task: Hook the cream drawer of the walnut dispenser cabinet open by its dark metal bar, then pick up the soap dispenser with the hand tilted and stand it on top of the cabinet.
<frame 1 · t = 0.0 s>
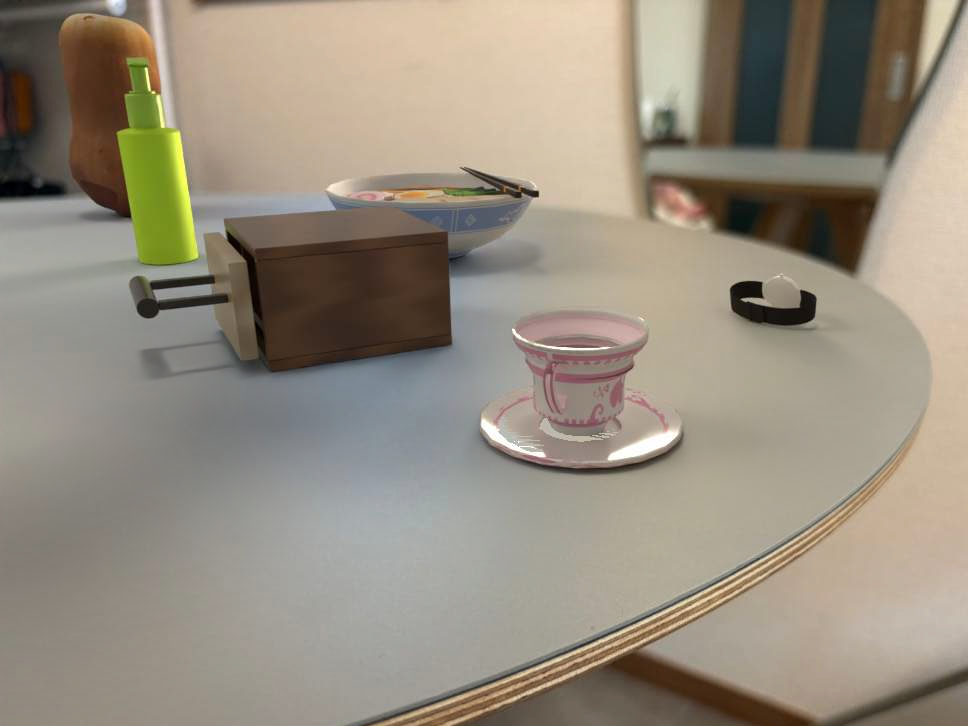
butternut squash: (135, 215, 117), on the table
ramen bowl: (435, 254, 95), on the table
teacup: (580, 430, 50), on the table
cabinet: (341, 334, 67), on the table
watch: (769, 320, 72), on the table
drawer: (268, 288, 63), point 4 cm above the table, slide at 0.5 cm
soap dispenser: (169, 261, 91), on the table
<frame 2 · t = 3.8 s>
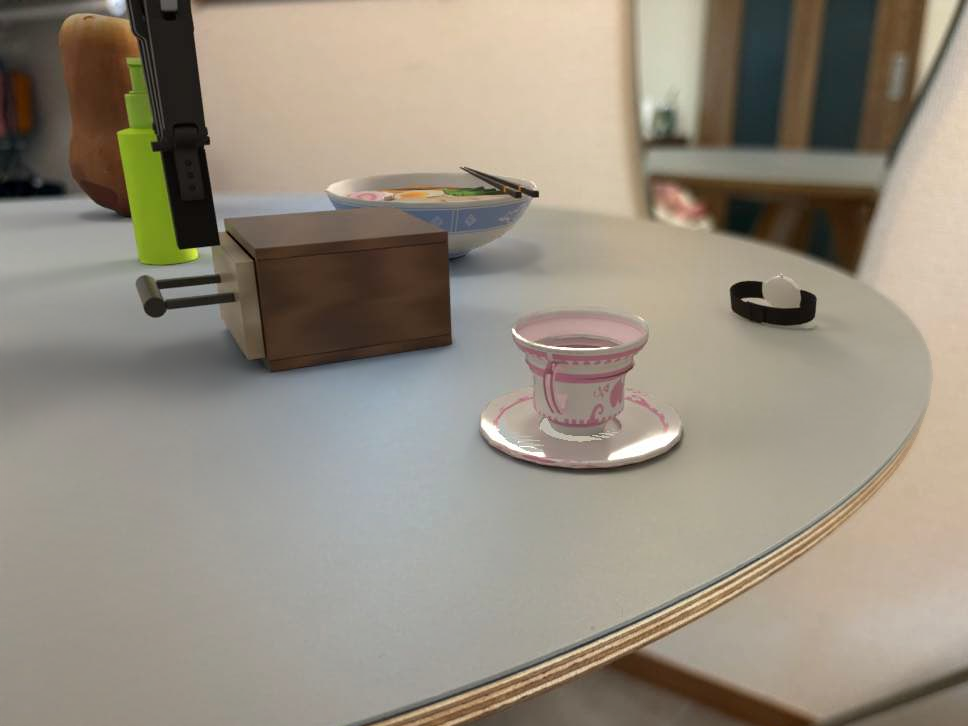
hand: (198, 245, 60), 8 cm above the table, tool pointing down, fingers closed
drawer: (274, 287, 63), point 4 cm above the table, slide at 0.1 cm, touching gripper
everything else where it was.
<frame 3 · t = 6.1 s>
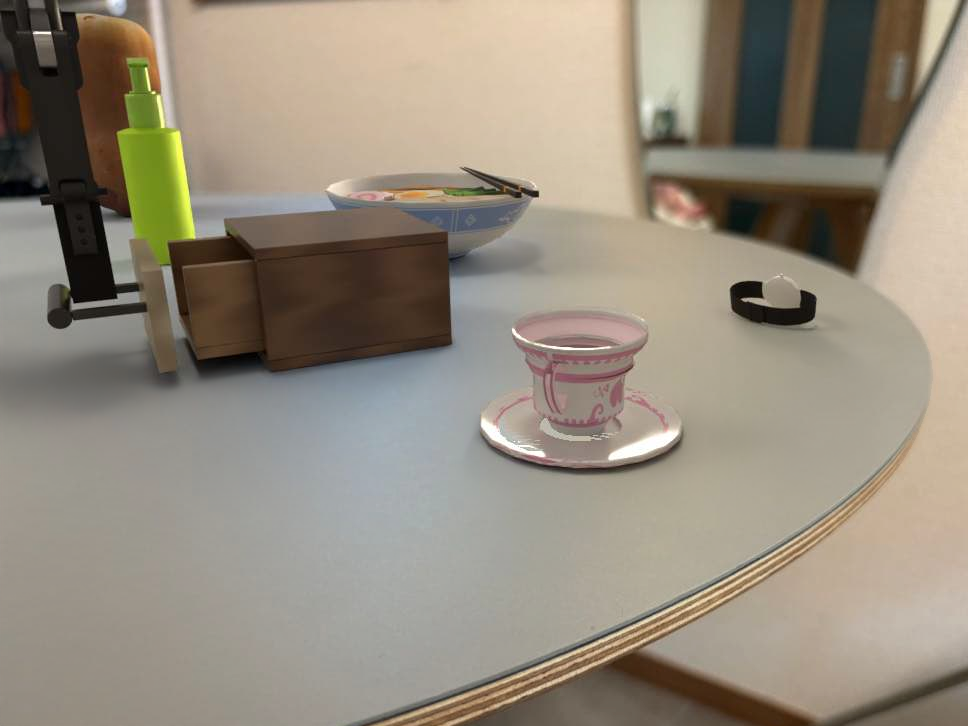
hand: (95, 298, 58), 5 cm above the table, tool pointing down, fingers closed
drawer: (194, 296, 61), point 4 cm above the table, slide at 5.7 cm
everything else where it was.
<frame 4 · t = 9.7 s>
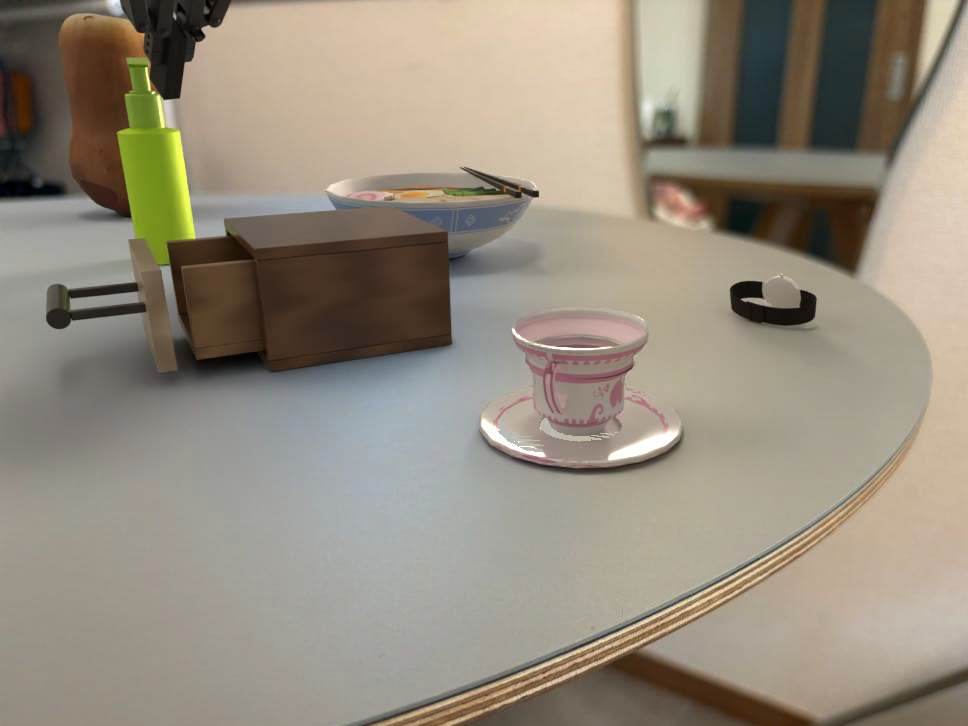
hand: (164, 88, 76), 18 cm above the table, tool tilted 40°, fingers closed
nothing on the table moved.
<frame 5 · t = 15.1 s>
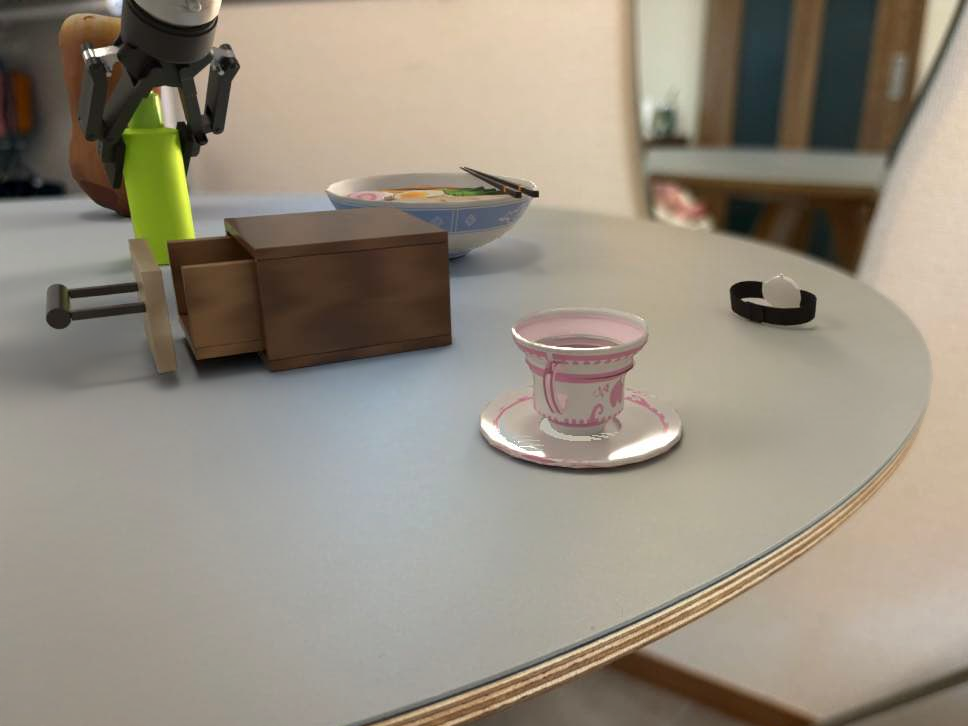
hand: (145, 175, 90), 8 cm above the table, tool tilted 45°, fingers closed on soap dispenser, 6 cm apart
soap dispenser: (169, 261, 91), on the table, touching gripper
everything else where it was.
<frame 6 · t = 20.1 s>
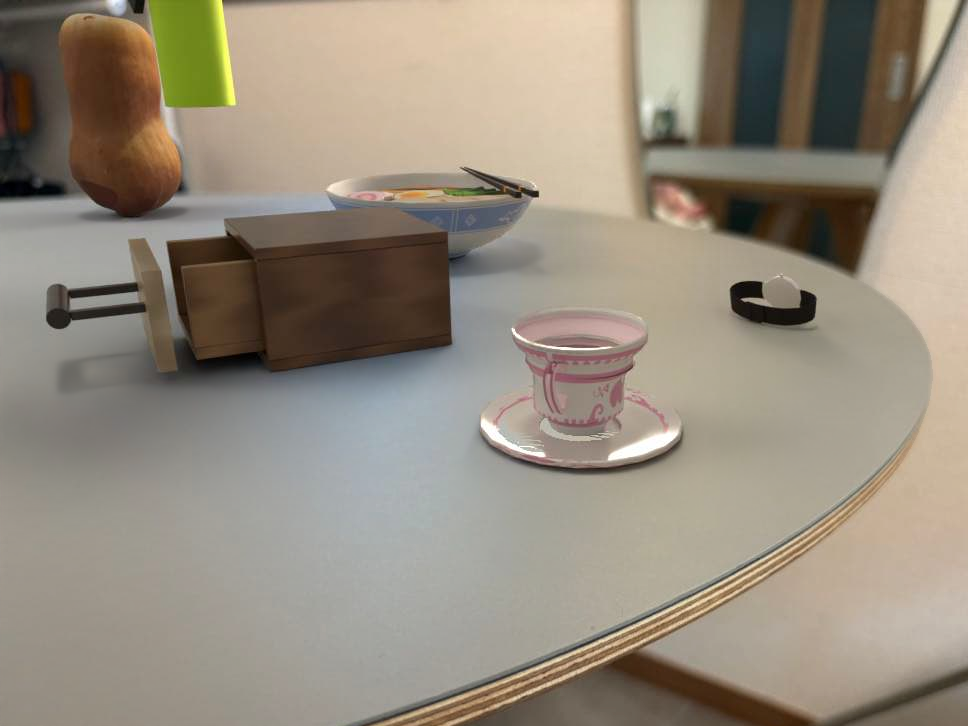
hand: (172, 2, 74), 24 cm above the table, tool tilted 45°, fingers closed on soap dispenser, 6 cm apart
soap dispenser: (201, 108, 75), point 16 cm above the table, touching gripper
everything else where it was.
when the fingers open (17 cm above the table, at t = 25.4 s): soap dispenser stays where it is, resting on cabinet.
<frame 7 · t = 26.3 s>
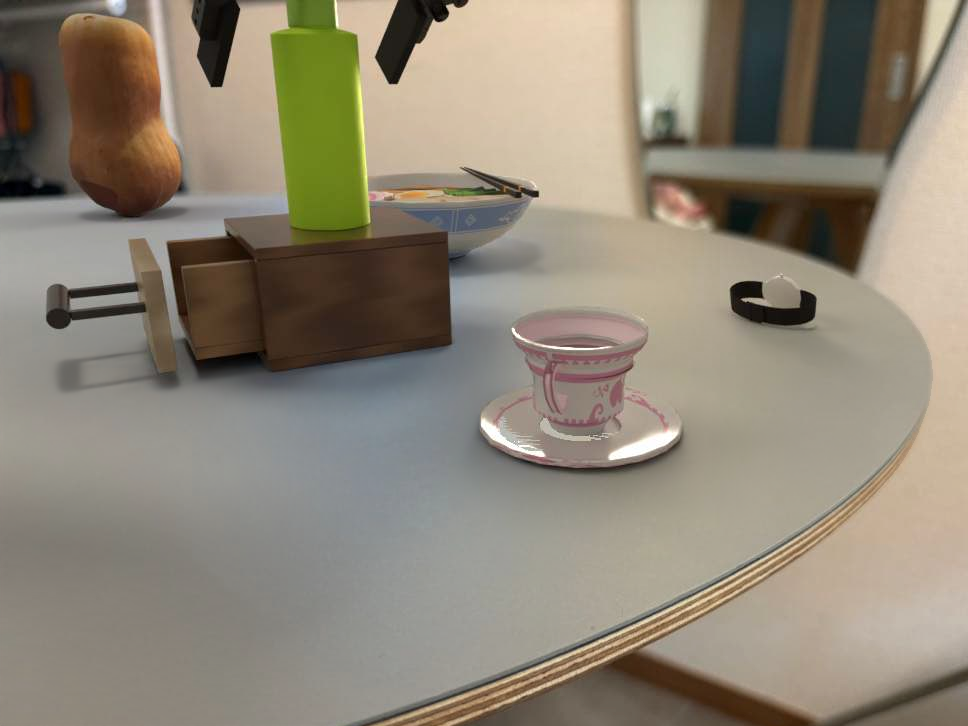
hand: (303, 71, 61), 19 cm above the table, tool tilted 45°, fingers open, 13 cm apart
soap dispenser: (332, 227, 64), point 8 cm above the table, touching cabinet
everything else where it was.
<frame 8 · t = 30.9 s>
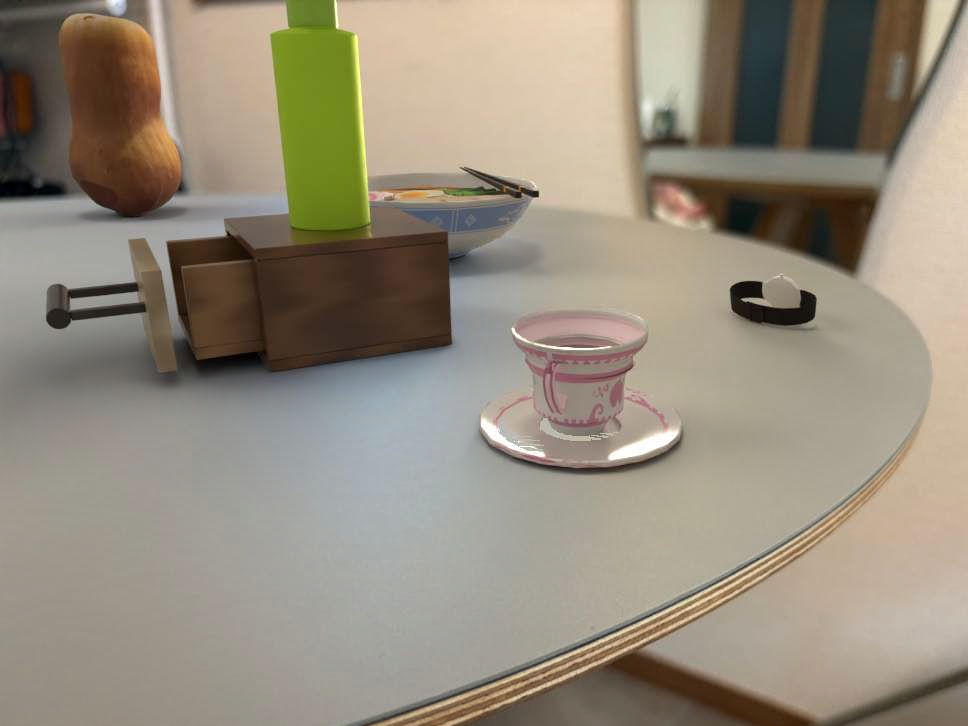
nothing on the table moved.
at the end: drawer slide at 5.8 cm; soap dispenser inside the target area on the cabinet (0.1 cm from its centre), point 8.4 cm above the cabinet's base; soap dispenser tilted 0° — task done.
